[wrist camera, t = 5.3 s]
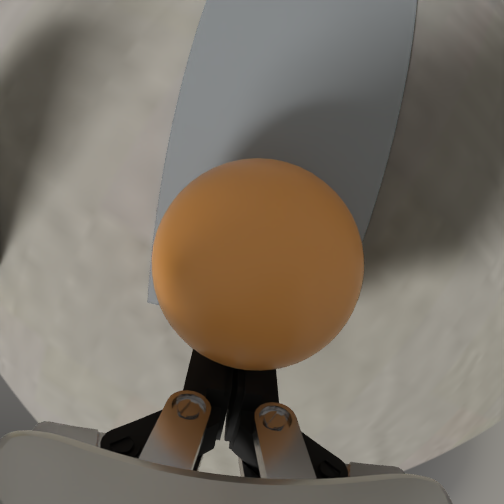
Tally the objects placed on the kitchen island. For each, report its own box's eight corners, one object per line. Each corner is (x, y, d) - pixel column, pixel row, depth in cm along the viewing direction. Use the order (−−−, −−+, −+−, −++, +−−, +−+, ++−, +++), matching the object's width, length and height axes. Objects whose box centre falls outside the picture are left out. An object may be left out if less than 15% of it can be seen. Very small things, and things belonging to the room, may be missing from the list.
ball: (348, 192, 11) (434, 192, 6) (306, 333, 12) (346, 427, 7) (197, 153, 11) (149, 111, 5) (165, 300, 12) (107, 380, 6)
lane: (418, -73, 6) (419, -75, 5) (324, 334, 13) (325, 337, 13) (261, -120, 5) (262, -123, 5) (148, 300, 13) (147, 302, 12)
